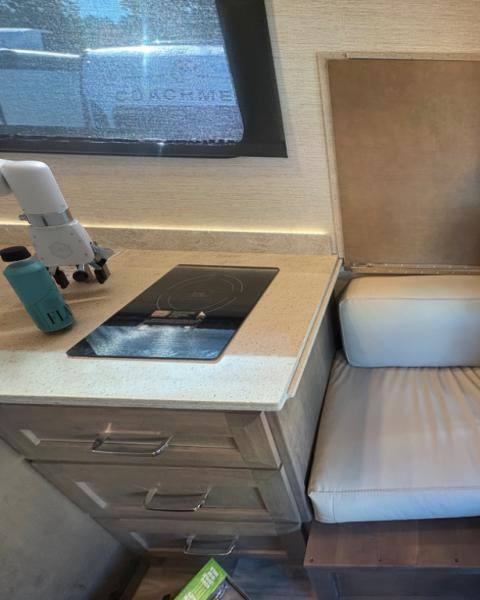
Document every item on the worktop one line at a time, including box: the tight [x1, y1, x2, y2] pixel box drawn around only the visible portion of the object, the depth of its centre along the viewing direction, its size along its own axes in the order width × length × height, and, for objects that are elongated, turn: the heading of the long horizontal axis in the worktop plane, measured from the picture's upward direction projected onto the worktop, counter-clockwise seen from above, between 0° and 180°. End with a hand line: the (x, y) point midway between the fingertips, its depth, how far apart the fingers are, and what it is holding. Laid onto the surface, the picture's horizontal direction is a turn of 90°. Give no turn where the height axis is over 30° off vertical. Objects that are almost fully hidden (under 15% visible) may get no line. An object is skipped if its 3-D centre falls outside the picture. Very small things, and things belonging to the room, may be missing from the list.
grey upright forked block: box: [74, 240, 111, 284], centre depth 92 cm, size 7×10×12 cm
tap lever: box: [71, 264, 89, 284], centre depth 88 cm, size 12×3×3 cm, turn 24°
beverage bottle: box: [0, 245, 75, 332], centre depth 71 cm, size 6×7×20 cm
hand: (84, 283), depth 87 cm, fingers open, 7 cm apart
